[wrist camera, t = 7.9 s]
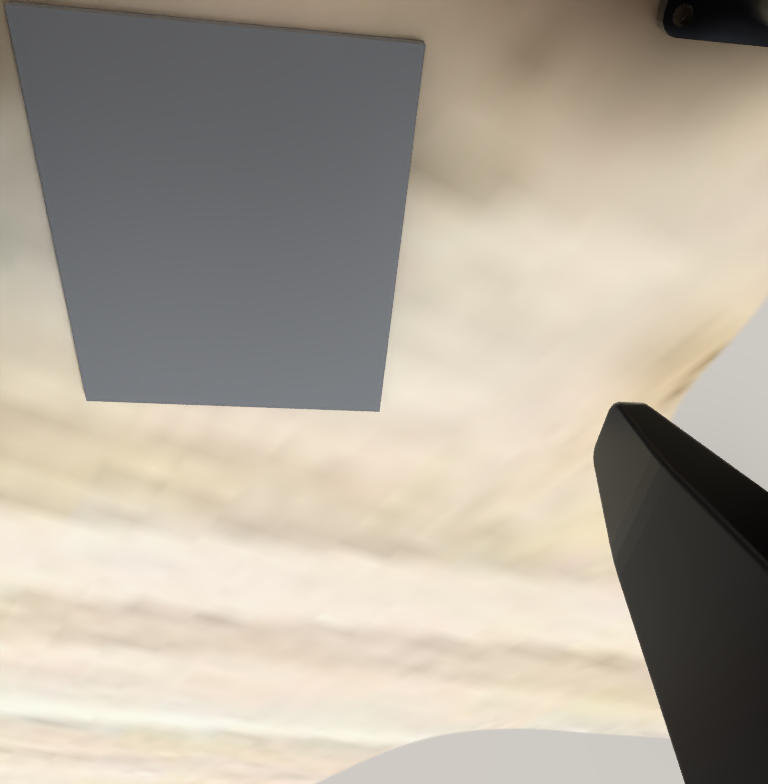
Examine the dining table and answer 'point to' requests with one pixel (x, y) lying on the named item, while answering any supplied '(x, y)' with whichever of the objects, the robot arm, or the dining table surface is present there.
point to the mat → (221, 201)
